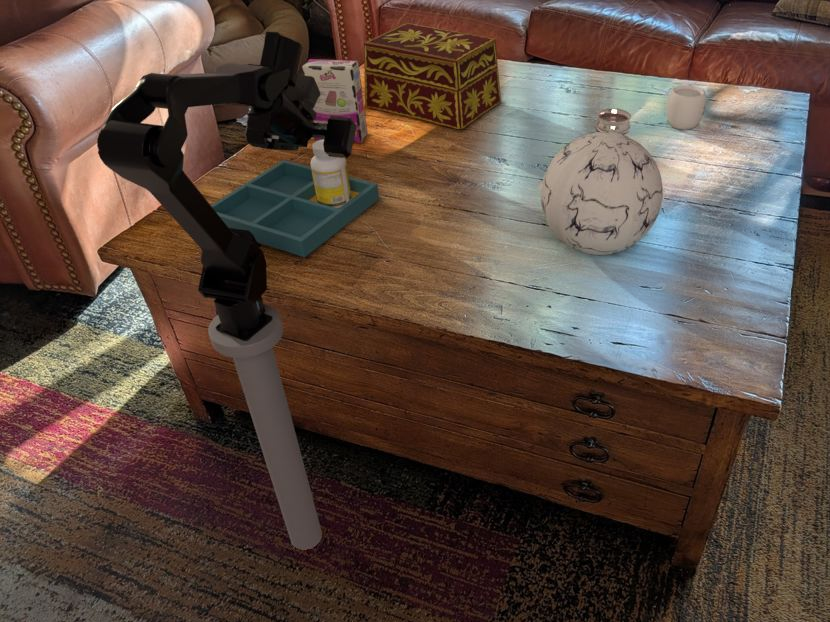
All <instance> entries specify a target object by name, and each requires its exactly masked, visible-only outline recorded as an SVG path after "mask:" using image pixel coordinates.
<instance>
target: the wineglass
mask: <svg viewBox="0 0 830 622" xmlns="http://www.w3.org/2000/svg"><path fill="white" fill-rule="evenodd" d="M596 116H597V119H596V121H595V125H594V126H595V131H596V132H613V133H618V134H622V135H625V136H628V134H629V132H630V129H631V122H630V120H631V119H632V114H631V112H629V111H627V110H625V109H621V108H613V107H612V108H604V109H600V110H599V111H597V113H596Z"/></svg>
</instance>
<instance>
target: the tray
mask: <svg viewBox="0 0 830 622" xmlns="http://www.w3.org/2000/svg"><path fill="white" fill-rule="evenodd" d="M348 177H349V184H350V191H351V200H350V201H348V202H347V203H346V204H344V205H343V206H342V207H340V208H334V207H331V206H327V205H324V204H320V203H318V201H317V197H316V191H315V186H314V181H313V176H312V170H311V165H310V166H309V165H305V164H301V163H298V162H294V161H290V160H286V159H282V160H281V161H279V162H278V163H276V164H274V165H273V166H271V167H269V168H268V169H267V170H265V171H263V172H262V173H260V174H258V175H257V176H255V177H254V178H252V179H250V180H249V181H247V182H245V183H244V184H242V185H240V186H239V187H237V188H236V189H234V190H233V191H231V192H229V193H228V194H226V195H224V196H223V197H221V198H219V199H218V200H217V201H215V202H213V203H211V204H210V205H211V206H212V208H213V209H214V210H215V211H216V213H217V214H218V215H219V216H220V218H221V219H222V220H223V221H224V223H225V224H226V225H227V226H228V227H229V228H235V229H242V230H249V231H250V232H251V233H252V234H253V235H254V237H255V239H256V241H257V242H258V243H260V244H262V245H264V246H267V247H271V248H273V249H276V250H280V251H283V252H287V253H288V254H289V253H290V254H292V255H296V256H299V257H302V258H306V257H308V255H310V254H311V253H313V252H314V251H315V250H316V249H318V248H319V247H320V246H321V245H323V244H324V243H325V242H326V241H328V240H329V239H331V238H332V237H333V236H334V235H336V234H337V233H338V232H339V231H341V230H342V229H343V228H345V227H346V226H347V225H349V224H350V223H351V222H352V221H354V220H355V219H356V218H357V217H359V216H360V215H361V214H362V213H364V212H366V210H368V209H369V208H370V207H371V206H373V205H374V204H375V203H376V202H377V201H379V200H380V195H379V187H378V183H374V182H371V181H367V180H363V179H359V178H355V177H352V176H348Z"/></svg>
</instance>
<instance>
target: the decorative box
mask: <svg viewBox="0 0 830 622" xmlns="http://www.w3.org/2000/svg"><path fill="white" fill-rule="evenodd" d="M363 67H364V68H363V69H364V71H363V72H364V73H363V74H364V107H366V108H369V109H371V110H372V109H373V110H376V111H381V112H385V113H389V114H394V115H396V116H401V117H405V118H409V119H414V120H418V121H422V122H426V123H429V124H430V123H431V124H434V125H438V126H442V127H446V128H452V129H455V130H459V131H462V130H463V129H465V128H467V127H468V126H469V125H470V124H473V122H475V121H477V120H478V119H480V118H481V117H482V116H483V115H485V114H487V113H488V112H489V111H491V110H492V109H494V108H496V107H497V106H498V105H499V104H501V103H502V96H501V95H502V94H501V86H500V76H499V75H500V74H499V67H498V54H497V45H496V39H495V38H491V37H486V36H481V35H475V34H470V33H464V32H459V31H453V30H448V29H442V28H438V27H437V28H436V27H432V26H426V25H420V24H416V23H415V24H414V23H409V22H406V23H403V24H401V25H399V26H397V27H395V28H393V29H391V30H389V31H386V32H384V33H382V34H380V35H378V36H376V37H374V38H372V39H369V40H367V41H365V42H364V43H363Z"/></svg>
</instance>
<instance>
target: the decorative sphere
mask: <svg viewBox="0 0 830 622" xmlns="http://www.w3.org/2000/svg"><path fill="white" fill-rule="evenodd" d="M662 179H663V178H662V174H661V171H660V169H659V166H658V164H657V163H656V161H655V159H654V157H653V155H652V154H651V153H650V152H649V151H648V150H647V149H646V148H645V147H644V146H643V145H642V144H641V143H640V142H638V141H637V140H635V139H634V138H631V137H630V136H628V135H626V136H625V135H622V134H618V133H613V132H597V131H596V132H591V133H587V134H584V135H581V136H579V137H577V138H575V139H573V140H571V141H570V142H568V143H567V144H566V145H564V146H563V147H562V148H561V149H559V151H558V152H557V153H556V154H555V155H554V157H553V158H552V159H551V162H550V163H549V165H548V167H547V168H546V171H545V173H544V175H543V178H542V184H541V192H540V193H541V195H540V196H541V197H540V201H541V207H542V211H543V215H544V218H545V221H546V222H547V225H548V226H549V228H550V230H551V231H552V232H553V233H554V235H555V236H556V237H557V238H558V239H559V240H560V241H561V242H563V244H564V245H566V246H568V247H569V248H571V249H573V250H575V251H577V252H580V253H583V254H587V255H593V256H607V255H613V254H616V253H619V252H623V251H625V250H627V249H629V248H631V247H633V246H634V245H636V244H637V243H638V242H639V241H641V240H642V239H643V238H645V236H646V235H647V234H648V233H649V231H650V230H651V229H652V228H653V225H654V224H655V222H656V221H657V219H658V217H659V213H660V210H661V207H662V202H663V197H664V196H663V195H664V187H663V180H662Z"/></svg>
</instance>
